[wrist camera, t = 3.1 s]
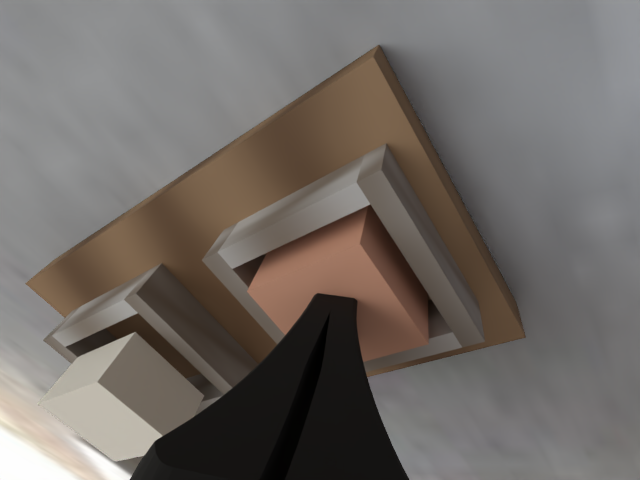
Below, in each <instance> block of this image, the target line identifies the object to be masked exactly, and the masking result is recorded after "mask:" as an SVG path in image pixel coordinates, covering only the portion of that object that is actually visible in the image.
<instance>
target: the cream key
mask: <svg viewBox="0 0 640 480" xmlns="http://www.w3.org/2000/svg"><path fill="white" fill-rule="evenodd" d="M203 397H204V395H203V394H202V393H201V392H200V391H199V390H198V389H196V388H195V387H194V386H193V385H192V384H191V383H190V382H189V381H188V380H187V379H186V378H185V377H184V376H182V375H181V374H180V373H179V372H178V371H177V370H176V369H175V368H174V367H173V366H172V365H171V364H169V363H168V362H167V361H166V360H165V359H164V358H163V357H162V356H161V355H160V354H159V353H158V352H157V351H155V350H154V349H153V348H152V347H151V346H150V345H149V344H148V343H147V342H146V341H145V340H144V339H142V338H141V337H140V336H139V335H138V334H137V333H136V332H134V333H132V334H129V335H127V336H125V337H123V338H120V339H118V340H116V341H113V342H111V343H109V344H107V345H104V346H102V347H100V348H97V349H95V350H93V351H90V352H88V353H86V354H84V355H81V356H79V357H77V358H76V360H75V361H74V362H73V363H72V364H71V365H70V367H69V368H68V369H67V370H66V371H65V372H64V374H63V375H62V376H61V377H60V378H59V379H58V380H57V382H56V383H55V384H54V385H53V386H52V387H51V389H50V390H49V391H48V392H47V393H46V394H45V396H44V397H43V398H42V399H41V400H40V401H39V403H38V405H39V406H40V407H42V408H43V409H44V410H46V411H47V412H48V413H50V414H51V415H52V416H54V417H55V418H56V419H58V420H59V421H61V422H62V423H63V424H65V425H66V426H67V427H69V428H70V429H71V430H73V431H74V432H75V433H77V434H78V435H79V436H81V437H82V438H84V439H85V440H86V441H88V442H89V443H90V444H92V445H93V446H94V447H96V448H97V449H98V450H100V451H101V452H102V453H104V454H105V455H106V456H108V457H109V458H111V459H112V460H113V461H115V462H116V461H120V460H125V459H130V458H135V457H139V456H144V455H145V454H146V453H147V451H148V450H149V448H150V447H151V446H152V444H153V443H154V441H155V440H157V439H159V438H160V437H162V436H164V435H165V434H167V433H169V432H170V431H172V430H174V429H175V428H177V427H178V426H180V425H182V424H183V423H185V422H187V421H188V420H190V419H191V418H193V417H194V415H195V413H196V411H197V409H198V407H199V405H200V403H201V401H202V399H203Z"/></svg>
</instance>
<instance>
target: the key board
mask: <svg viewBox="0 0 640 480" xmlns="http://www.w3.org/2000/svg"><path fill="white" fill-rule="evenodd" d="M370 204H371V206H372V208H373V209H374V211H375V212H376V214H377V215H378V217H379V218H380V220H381V222H382V223H383V225H384V226H385V228H386V229H387V231H388V232H389V234H390V236H391V237H392V239H393V240H394V242H395V243H396V245H397V246H398V248H399V250H400V251H401V253H402V254H403V256H404V257H405V259H406V261H407V262H408V264H409V265H410V267H411V268H412V270H413V271H414V273H415V275H416V276H417V278H418V279H419V281H420V282H421V284H422V285H423V287H424V289H425V290H426V292H427V293H428V333H429V344H428V345H424V346H420V347H417V348H413V349H409V350H406V351H402V352H398V353H394V354H391V355H387V356H383V357H380V358H376V359H372V360H369V361H365V362H363V363H364V367H365V371H366V375H367V377H369V376H373V375H377V374H381V373H385V372H389V371H393V370H397V369H401V368H405V367H409V366H413V365H417V364H421V363H425V362H429V361H433V360H437V359H441V358H445V357H449V356H453V355H457V354H461V353H465V352H469V351H473V350H477V349H481V348H485V347H489V346H493V345H497V344H501V343H505V342H509V341H513V340H517V339H521V338H525V337H526V336H525V332H524V329H523V325H522V322H521V318H520V314H519V311H518V307H517V304H516V301H515V299H514V298H513V296H512V294H511V292H510V290H509V288H508V286H507V284H506V282H505V281H504V279H503V277H502V275H501V273H500V271H499V269H498V267H497V266H496V264H495V262H494V260H493V258H492V256H491V254H490V252H489V250H488V249H487V247H486V245H485V243H484V241H483V239H482V237H481V235H480V234H479V232H478V230H477V228H476V226H475V224H474V222H473V220H472V218H471V217H470V215H469V213H468V211H467V209H466V207H465V205H464V203H463V202H462V200H461V198H460V196H459V194H458V192H457V190H456V188H455V186H454V185H453V183H452V181H451V179H450V177H449V175H448V173H447V171H446V170H445V168H444V166H443V164H442V162H441V160H440V158H439V156H438V154H437V153H436V151H435V149H434V147H433V145H432V143H431V141H430V139H429V138H428V136H427V134H426V132H425V130H424V128H423V126H422V124H421V122H420V121H419V119H418V117H417V115H416V113H415V111H414V109H413V107H412V106H411V104H410V102H409V100H408V98H407V96H406V94H405V92H404V90H403V89H402V87H401V85H400V83H399V81H398V79H397V77H396V75H395V74H394V72H393V70H392V68H391V66H390V64H389V62H388V60H387V58H386V57H385V55H384V53H383V51H382V49H381V47H380V45H378V46H376V47H375V48H373V49H372V50H370V51H369V52H367V53H366V54H364V55H363V56H361V57H360V58H358V59H357V60H355V61H354V62H352V63H351V64H349V65H348V66H346V67H344V68H343V69H341V70H340V71H338V72H337V73H335V74H334V75H332V76H331V77H329V78H328V79H326V80H325V81H323V82H322V83H320V84H319V85H317V86H316V87H314V88H313V89H311V90H310V91H308V92H307V93H305V94H304V95H302V96H301V97H299V98H298V99H296V100H295V101H293V102H292V103H290V104H289V105H287V106H286V107H284V108H283V109H281V110H280V111H278V112H277V113H275V114H274V115H272V116H271V117H269V118H268V119H266V120H264V121H263V122H261V123H260V124H258V125H257V126H255V127H254V128H252V129H251V130H249V131H248V132H246V133H245V134H243V135H242V136H240V137H239V138H237V139H236V140H234V141H233V142H231V143H230V144H228V145H227V146H225V147H224V148H222V149H221V150H219V151H218V152H216V153H215V154H213V155H212V156H210V157H209V158H207V159H206V160H204V161H203V162H201V163H200V164H198V165H197V166H195V167H194V168H192V169H191V170H189V171H187V172H186V173H184V174H183V175H181V176H180V177H178V178H177V179H175V180H174V181H172V182H171V183H169V184H168V185H166V186H165V187H163V188H162V189H160V190H159V191H157V192H156V193H154V194H153V195H151V196H150V197H148V198H147V199H145V200H144V201H142V202H141V203H139V204H138V205H136V206H135V207H133V208H132V209H130V210H129V211H127V212H126V213H124V214H123V215H121V216H120V217H118V218H117V219H115V220H114V221H112V222H110V223H109V224H107V225H106V226H104V227H103V228H101V229H100V230H98V231H97V232H95V233H94V234H92V235H91V236H89V237H88V238H86V239H85V240H83V241H82V242H80V243H79V244H77V245H76V246H74V247H73V248H71V249H70V250H68V251H67V252H65V253H64V254H62V255H61V256H59V257H58V258H56V259H55V260H53V261H52V262H51V263H50V264H48V265H47V266H46V267H45V268H44V269H42V270H41V271H40V272H39V273H37V274H36V275H35V276H34V277H33V278H31V279H30V280H29V281H28V282H27V283H25V284H26V285H28V286H29V287H30V288H31V289H32V290H33V291H35V292H36V293H37V294H38V295H39V296H40V297H42V298H43V299H44V300H45V301H46V302H47V303H48V304H50V305H51V306H52V307H53V308H54V309H55V310H57V311H58V312H59V313H60V314H61V315H62V316H63V317H65V319H64V320H63V321H62V322H61V323H60V324H59V325H58V326H57V327H56V328H55V329H54V330H53V331H52V332H51V333H50V334H49V335H48V336H47V337H46V338H45V339H44V340H43V341H45V342H46V343H47V344H48V345H50V346H51V347H52V348H53V349H54V350H56V351H57V352H58V353H59V354H61V355H62V356H63V357H64V358H65V359H67V360H68V361H69V362H70V363H73V362H74V361H75V360H76V358H77V357H79V356H81V355H84V354H86V353H88V352H90V351H93V350H95V349H97V348H100V347H102V346H104V345H107V344H109V343H111V342H113V341H116V340H118V339H120V338H123V337H125V336H127V335H129V334H132V333H134V332H136V333H137V334H138V335H139V336H140V337H141V338H142V339H144V340H145V341H146V342H147V343H148V344H149V345H150V346H151V347H152V348H153V349H154V350H155V351H157V352H158V353H159V354H160V355H161V356H162V357H163V358H164V359H165V360H166V361H167V362H168V363H169V364H171V365H172V366H173V367H174V368H175V369H176V370H177V371H178V372H179V373H180V374H181V375H182V376H184V377H185V378H186V379H187V380H188V381H189V382H190V383H191V384H192V385H193V386H194V387H195V388H196V389H198V390H199V391H200V392H201V393H202V394H203V395H204V397H203V399H202V401H201V403H200V405H199V407H198V409H197V411H196V413H195V415H194V416H196V415H197V414H198V413H200V412H201V411H202V410H204V409H205V408H207V407H208V406H209V405H211V404H212V403H214V402H215V401H216V400H218V399H219V398H220V397H222V396H223V395H224V394H225V393H227V392H228V391H229V390H230V389H232V388H233V387H234V386H235V385H236V384H237V383H239V382H240V381H241V380H242V379H243V378H244V377H246V376H247V375H248V374H249V373H250V372H251V371H252V370H253V369H254V368H255V367H256V366H257V365H258V364H259V363H260V362H261V361H262V360H263V359H264V358H265V357H266V356H267V355H268V354H269V353H270V352H271V351H272V350H273V349H274V348H275V346H276V345H277V344H278V343H279V342H280V341H281V340H282V339H283V337H284V336H285V335H284V333H283V332H282V331H281V330H280V329H279V328H278V327H277V325H276V324H275V323H274V322H273V321H272V320H271V319H270V317H269V316H268V315H267V314H266V313H265V312H264V311H263V309H262V308H261V307H260V306H259V305H258V304H257V303H256V301H255V300H254V299H253V298H252V297H251V296H250V295H249V293H248V292H247V290H248V288H249V286H250V284H251V283H252V281H253V279H254V277H255V275H256V273H257V271H258V269H259V267H260V265H261V263H262V262H263V260H264V258H265V256H266V254H267V252H270V251H272V250H274V249H276V248H278V247H280V246H282V245H284V244H287V243H289V242H291V241H293V240H295V239H297V238H299V237H302V236H304V235H306V234H308V233H310V232H312V231H314V230H317V229H319V228H321V227H323V226H325V225H327V224H329V223H332V222H334V221H336V220H338V219H340V218H342V217H344V216H347V215H349V214H351V213H353V212H355V211H357V210H359V209H362V208H364V207H366V206H368V205H370Z"/></svg>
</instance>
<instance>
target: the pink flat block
mask: <svg viewBox="0 0 640 480" xmlns="http://www.w3.org/2000/svg"><path fill="white" fill-rule="evenodd" d="M247 292H248V293H249V295H250V296H251V297H252V298H253V299H254V300H255V301H256V303H257V304H258V305H259V306H260V307H261V308H262V309H263V311H264V312H265V313H266V314H267V315H268V316H269V317H270V319H271V320H272V321H273V322H274V323H275V324H276V325H277V327H278V328H279V329H280V330H281V331H282V332H283V333H284V335H286V334H287V333H288V331H289V330H290V329H291V328H292V326H293V325H294V324H295V323H296V321H297V320H298V319H299V317H300V316H301V314H302V313H303V312H304V310H305V309H306V307H307V306H308V304H309V303H310V301H311V300H312V298H313V296H314V295H315V294H317V293H321V294H328V295H336V296H343V297H351V298H355V299H356V300H357V301H358V303H357V318H356V319H357V331H358V338H359V344H360V349H361V355H362V359H363V362H365V361H369V360H372V359H376V358H380V357H383V356H387V355H391V354H394V353H398V352H402V351H406V350H409V349H413V348H417V347H420V346H424V345H428V344H429V333H428V293H427V292H426V290H425V289H424V287H423V285H422V284H421V282H420V281H419V279H418V278H417V276H416V275H415V273H414V271H413V270H412V268H411V267H410V265H409V264H408V262H407V261H406V259H405V257H404V256H403V254H402V253H401V251H400V250H399V248H398V246H397V245H396V243H395V242H394V240H393V239H392V237H391V236H390V234H389V232H388V231H387V229H386V228H385V226H384V225H383V223H382V222H381V220H380V218H379V217H378V215H377V214H376V212H375V211H374V209H373V208H372V206H371V204H370V205H368V206H366V207H364V208H362V209H359V210H357V211H355V212H353V213H351V214H349V215H347V216H344V217H342V218H340V219H338V220H336V221H334V222H332V223H329V224H327V225H325V226H323V227H321V228H319V229H317V230H314V231H312V232H310V233H308V234H306V235H304V236H302V237H299V238H297V239H295V240H293V241H291V242H289V243H287V244H284V245H282V246H280V247H278V248H276V249H274V250H272V251H270V252H267V254H266V256H265V258H264V260H263V262H262V263H261V265H260V267H259V269H258V271H257V273H256V275H255V277H254V279H253V281H252V283H251V284H250V286H249V288H248V290H247Z"/></svg>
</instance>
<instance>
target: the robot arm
mask: <svg viewBox="0 0 640 480" xmlns="http://www.w3.org/2000/svg"><path fill="white" fill-rule="evenodd" d="M357 303H358V301H357V300H356V299H355V298H351V297H343V296H336V295H328V294H321V293H317V294H315V295H314V296H313V298H312V300H311V301H310V303H309V304H308V306H307V307H306V309H305V310H304V312H303V313H302V314H301V316H300V317H299V319H298V320H297V321H296V323H295V324H294V325H293V326H292V328H291V329H290V330H289V331H288V333H287V334H286V335H285V336H284V337H283V339H282V340H281V341H280V342H279V343H278V344H277V345H276V346H275V348H274V349H273V350H272V351H271V352H270V353H269V354H268V355H267V356H266V357H265V358H264V359H263V360H262V361H261V362H260V363H259V364H258V365H257V366H256V367H255V368H254V369H253V370H252V371H251V372H250V373H249V374H248V375H247V376H246V377H244V378H243V379H242V380H241V381H240V382H239V383H237V384H236V385H235V386H234V387H233V388H232V389H230V390H229V391H228V392H227V393H225V394H224V395H223V396H222V397H220V398H219V399H218V400H216V401H215V402H214V403H212V404H211V405H209V406H208V407H207V408H205V409H204V410H202V411H201V412H200V413H198V414H197V415H196V416H194V417H193V418H191V419H190V420H188V421H187V422H185V423H183V424H182V425H180V426H178V427H177V428H175V429H174V430H172V431H170V432H169V433H167V434H165V435H164V436H162V437H160V438H159V439H157V440H155V441H154V443H153V444H152V446H151V447H150V448H149V450H148V451H147V453H146V454H145V455H144V457H143V458H142V460H141V461H140V463H139V464H138V466H137V468H136V470H135V471H134V473H133V475H132V477H131V479H130V480H409V478H408V476H407V474H406V473H405V471H404V469H403V467H402V465H401V463H400V461H399V459H398V456H397V454H396V452H395V450H394V448H393V446H392V444H391V441H390V439H389V436H388V434H387V432H386V429H385V427H384V425H383V422H382V420H381V417H380V415H379V412H378V409H377V407H376V404H375V401H374V398H373V395H372V392H371V389H370V386H369V382H368V379H367V375H366V371H365V367H364V363H363V359H362V355H361V349H360V344H359V338H358V331H357V319H356V318H357Z"/></svg>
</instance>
